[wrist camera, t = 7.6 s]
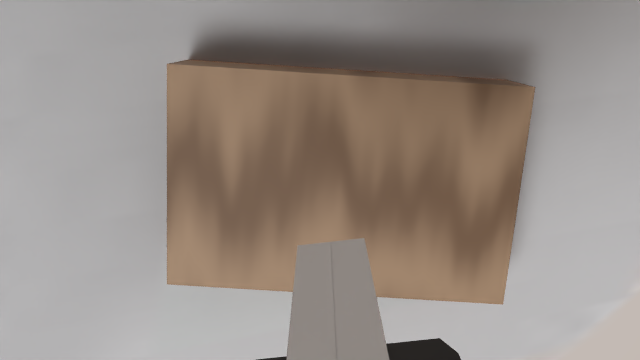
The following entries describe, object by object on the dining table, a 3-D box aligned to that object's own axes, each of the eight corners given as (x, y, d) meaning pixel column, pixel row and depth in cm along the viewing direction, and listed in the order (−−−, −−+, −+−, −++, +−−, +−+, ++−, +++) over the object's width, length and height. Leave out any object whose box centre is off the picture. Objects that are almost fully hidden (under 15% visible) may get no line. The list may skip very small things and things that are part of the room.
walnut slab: (167, 63, 22) (535, 87, 23) (190, 59, 26) (504, 79, 26) (166, 284, 25) (503, 304, 25) (188, 249, 28) (478, 267, 29)
